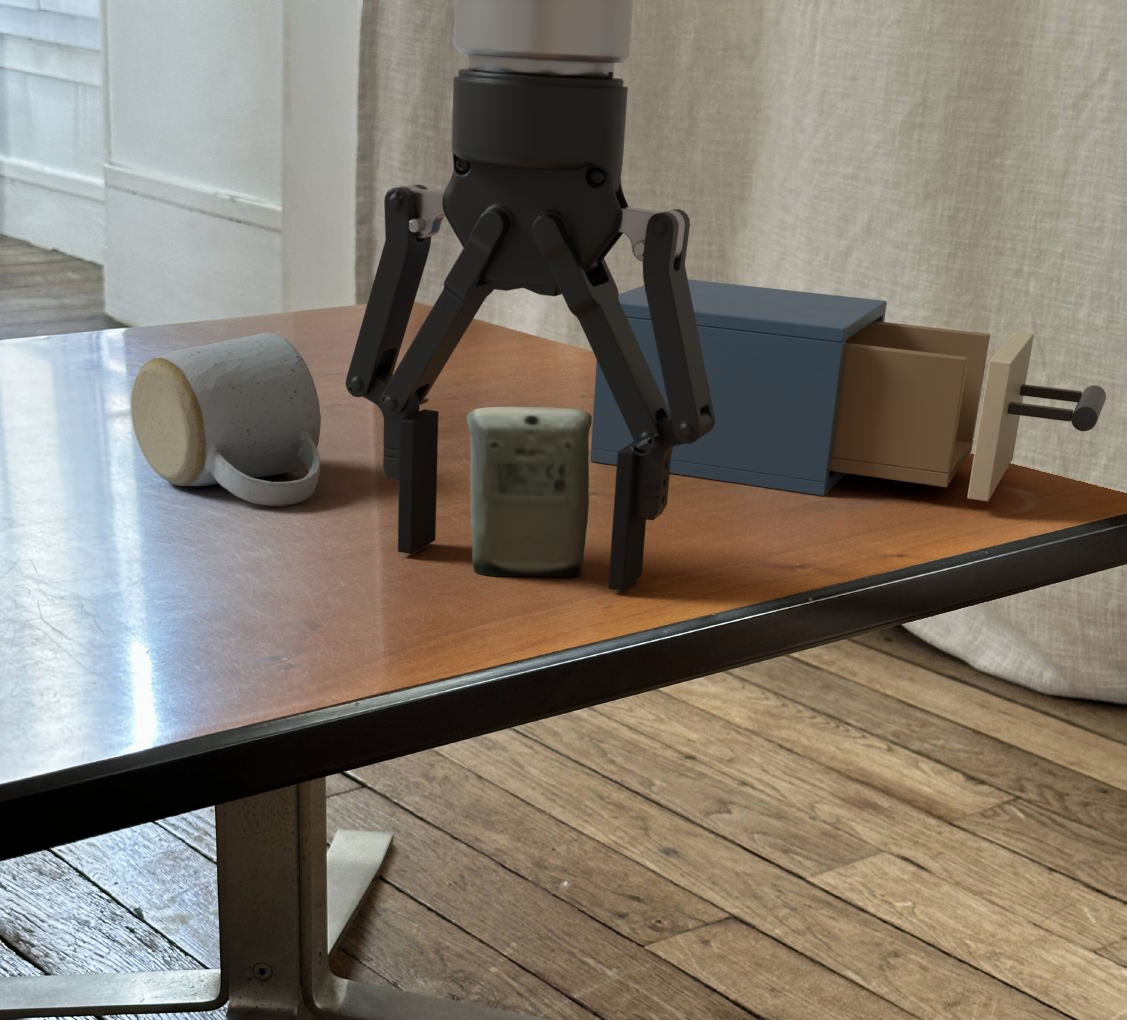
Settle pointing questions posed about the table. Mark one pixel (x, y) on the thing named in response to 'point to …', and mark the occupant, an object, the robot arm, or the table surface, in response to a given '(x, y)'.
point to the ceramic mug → (231, 418)
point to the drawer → (940, 405)
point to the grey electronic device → (529, 490)
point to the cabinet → (752, 383)
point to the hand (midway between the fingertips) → (518, 563)
